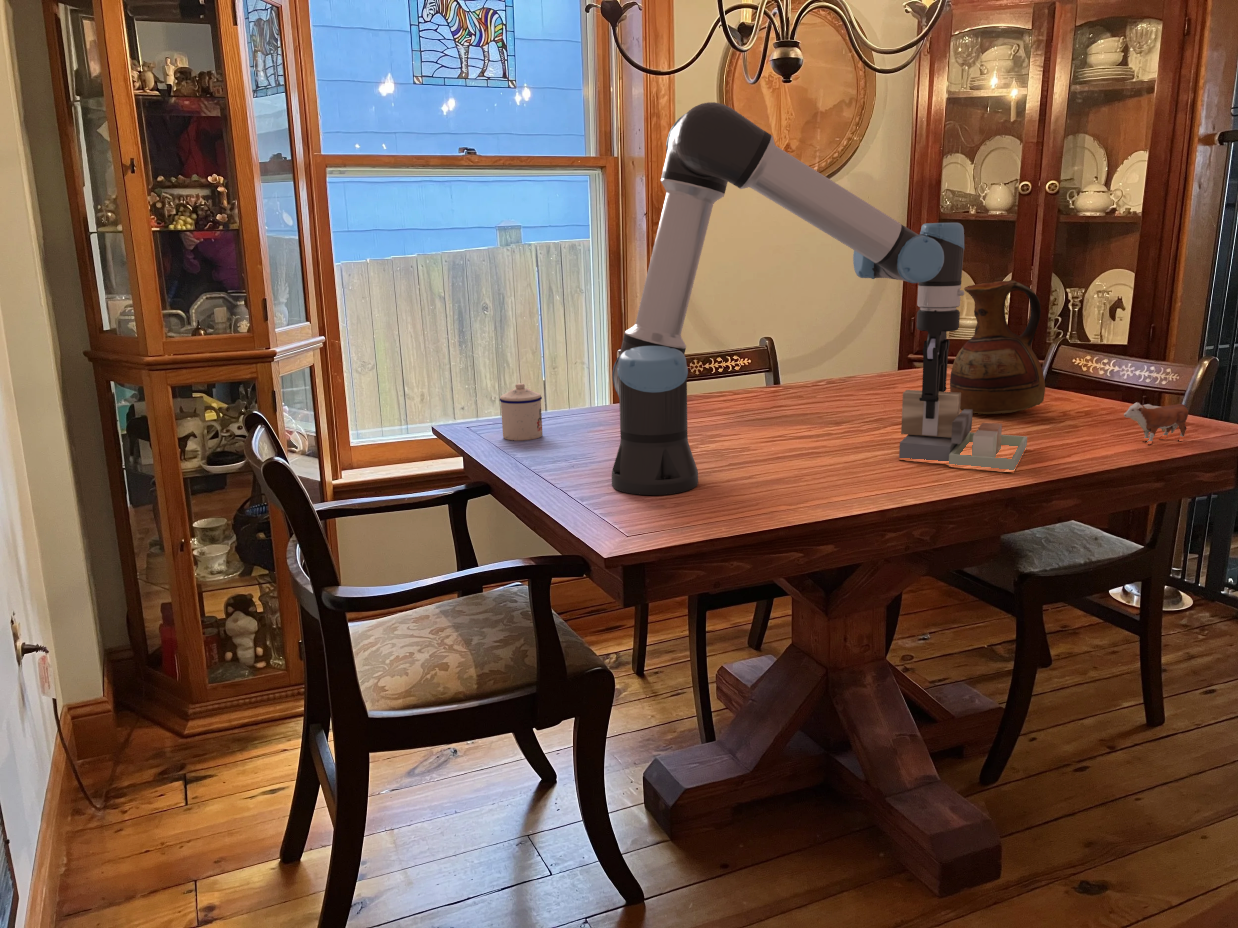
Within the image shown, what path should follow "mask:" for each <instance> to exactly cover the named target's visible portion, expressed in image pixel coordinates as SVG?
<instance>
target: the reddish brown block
mask: <svg viewBox="0 0 1238 928" xmlns="http://www.w3.org/2000/svg"><path fill="white" fill-rule="evenodd" d="M1002 425H1003V423H997V422H996V423H994V422H992V423H991V422H981V424H980V425H979V426H978V428H977V430H983V431H997V432H998V433H997V447H996V454H997V453H998V452H999V450H1000V449H1001V435H1002V430H1003V429H1002V428H1003V426H1002Z"/></svg>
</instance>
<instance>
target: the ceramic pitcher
mask: <svg viewBox="0 0 1238 928" xmlns="http://www.w3.org/2000/svg"><path fill="white" fill-rule="evenodd" d="M963 291H964V292H966V293H968V295H970V297H971V298H972V299H973V302H974V312H973V313H974V314H973V315H974V318H975V319H976V325H975V329H974V334H973V335H972V337H971V338H969V340H967V341H966V342H965V343H964V344H963V346H962V347H961V349H959V351H958V353H957V354H956V357H955V358H954V361H953V364H952V367H951V372H950V377H949V392H958V393H961V404H960V411H961V412H962V411H963V410H964V409H972V410H973V414H975V413H978V414H977V415H996V414H997V415H999V414H1000V415H1001V413H1002V414H1009V413H1011V414H1012V413H1015V412H1020V411H1024V410H1027V409H1032V408H1034V407H1036V406H1040V405H1041V404H1042V403H1043V402H1044V399H1045V393H1046V381H1045V375H1044V371H1043V368H1042V365H1041V363H1040V360H1039V358H1038V357H1037V355H1036V353H1035V352H1034V351H1033V348H1032V344H1033V341H1034V337H1035V334H1036V331H1037V329H1038V325H1039V323H1040V319H1041V313H1042V312H1041V311H1042V310H1041V309H1042V307H1041V302H1040V299H1039V297H1038V295H1037V294H1036V292H1035V291H1033V289H1031V288H1030V287H1028V286H1026V285H1025V284H1022V283H1021V282H1017V281H1016V280H1000V281H993V282H983V283H978V284H977V283H976V284H971V285H967V286H965V287H964V288H963ZM1015 291H1018V292H1022V293H1024V294H1026V296H1027V298H1028V300H1029V304H1030V305H1029V306H1030V316H1029V319H1028V324H1027V325H1026V327H1025V330H1024V331H1023V332H1022V333H1021V334H1020V335H1018V334H1017V333H1014V332H1013V331H1011V329H1010V327H1009V325H1008V322H1007V318H1006V300H1007V297H1008V295H1009V294H1010V293H1012V292H1015Z"/></svg>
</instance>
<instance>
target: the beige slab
mask: <svg viewBox="0 0 1238 928" xmlns="http://www.w3.org/2000/svg"><path fill="white" fill-rule="evenodd" d="M921 396H922V390H916V389H906V390H905V391H903V392H902V402H901V403H902V404H901V407H902V408H901V410H902V411H901V428H900V429H901V431H900V433H901V434H900V435H906V436H907V435H921V436H932V435H922V426H923V407H924V401H920V400H919V398H922V397H921ZM938 397H939V400H938V401H939V419H938V435H937V436H935V437H949V438H951V443H953V444H961V443H962V441H963V440H964V439H965V438H966V436H967V435H968V434H969V432H972V430H973V429H972V428H973V427H972V426H973V414H974V413H973V410H972V409H964V410H963V411H962V410H960V404H961V393H958V392H950V391H944V392H939V394H938Z"/></svg>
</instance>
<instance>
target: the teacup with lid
mask: <svg viewBox="0 0 1238 928" xmlns="http://www.w3.org/2000/svg"><path fill="white" fill-rule="evenodd" d="M542 397H543V396H542V395H541V393H540V392H536V391H533V390H531V389H530V388H526V386H525V383H523V382H522V383H521V382H520V383H516V384H515V387H514V388H513V389H510V390H509V391H508V392H506V393H503V394H502V395H501V396H499V401H500V408H501V409H500V410H501V425H502V427H501V428H502V438H503V439H505V440H507V441H513V440H514V441H516V442H521V441H523V442H524V441H531V440H536V439H540V438H541V437H542V436H543V418H542V416H543V415H542V413H543V412H542V399H543V398H542Z"/></svg>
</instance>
